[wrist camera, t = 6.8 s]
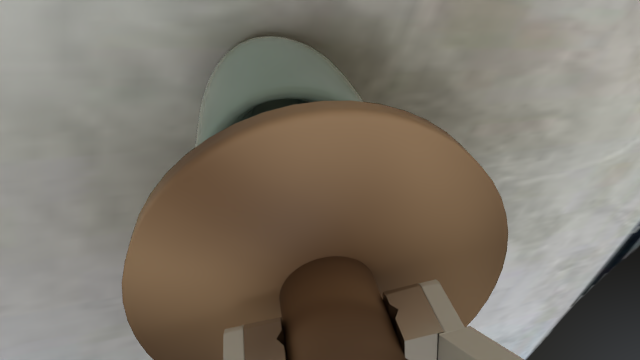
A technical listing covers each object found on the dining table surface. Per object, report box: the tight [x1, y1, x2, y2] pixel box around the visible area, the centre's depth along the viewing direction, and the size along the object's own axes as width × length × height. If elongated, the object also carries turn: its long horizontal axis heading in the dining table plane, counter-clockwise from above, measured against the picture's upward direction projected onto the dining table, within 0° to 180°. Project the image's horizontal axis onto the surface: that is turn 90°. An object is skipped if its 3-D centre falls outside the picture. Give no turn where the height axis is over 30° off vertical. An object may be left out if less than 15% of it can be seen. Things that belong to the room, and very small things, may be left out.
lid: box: [122, 101, 508, 360], centre depth 12 cm, size 11×11×4 cm
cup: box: [195, 36, 363, 147], centre depth 21 cm, size 8×8×10 cm
